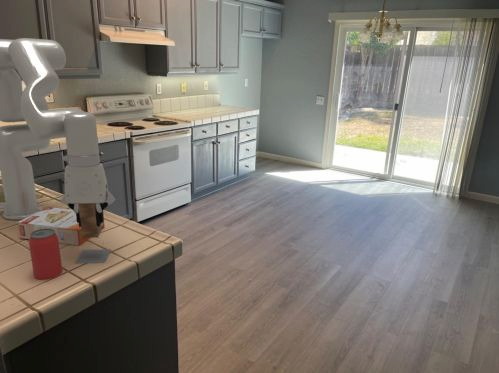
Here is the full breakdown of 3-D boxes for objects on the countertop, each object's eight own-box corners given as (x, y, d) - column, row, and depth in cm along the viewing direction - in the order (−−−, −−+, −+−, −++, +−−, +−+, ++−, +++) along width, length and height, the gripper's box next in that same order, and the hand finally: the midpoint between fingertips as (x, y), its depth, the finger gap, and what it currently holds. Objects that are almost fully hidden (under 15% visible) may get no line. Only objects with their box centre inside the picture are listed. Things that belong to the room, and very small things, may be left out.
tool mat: (74, 265, 104) (74, 263, 104) (83, 251, 112) (82, 249, 112) (105, 264, 105) (104, 262, 105) (111, 251, 113) (111, 249, 113)
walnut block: (82, 237, 105) (77, 197, 100) (86, 231, 108) (81, 191, 104) (98, 237, 105) (93, 197, 101) (101, 230, 109) (96, 191, 104)
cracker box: (78, 228, 113) (16, 221, 116) (80, 247, 114) (19, 239, 118) (104, 211, 126) (47, 206, 129) (105, 228, 128) (49, 222, 131)
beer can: (40, 268, 102) (34, 227, 99) (66, 268, 103) (61, 227, 99) (29, 281, 96) (22, 238, 92) (56, 281, 97) (50, 238, 93)
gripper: (44, 163, 95) (53, 231, 101) (114, 163, 97) (119, 229, 103) (55, 156, 102) (63, 220, 108) (120, 157, 104) (124, 219, 110)
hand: (90, 224), depth 105 cm, fingers closed on walnut block, 4 cm apart
